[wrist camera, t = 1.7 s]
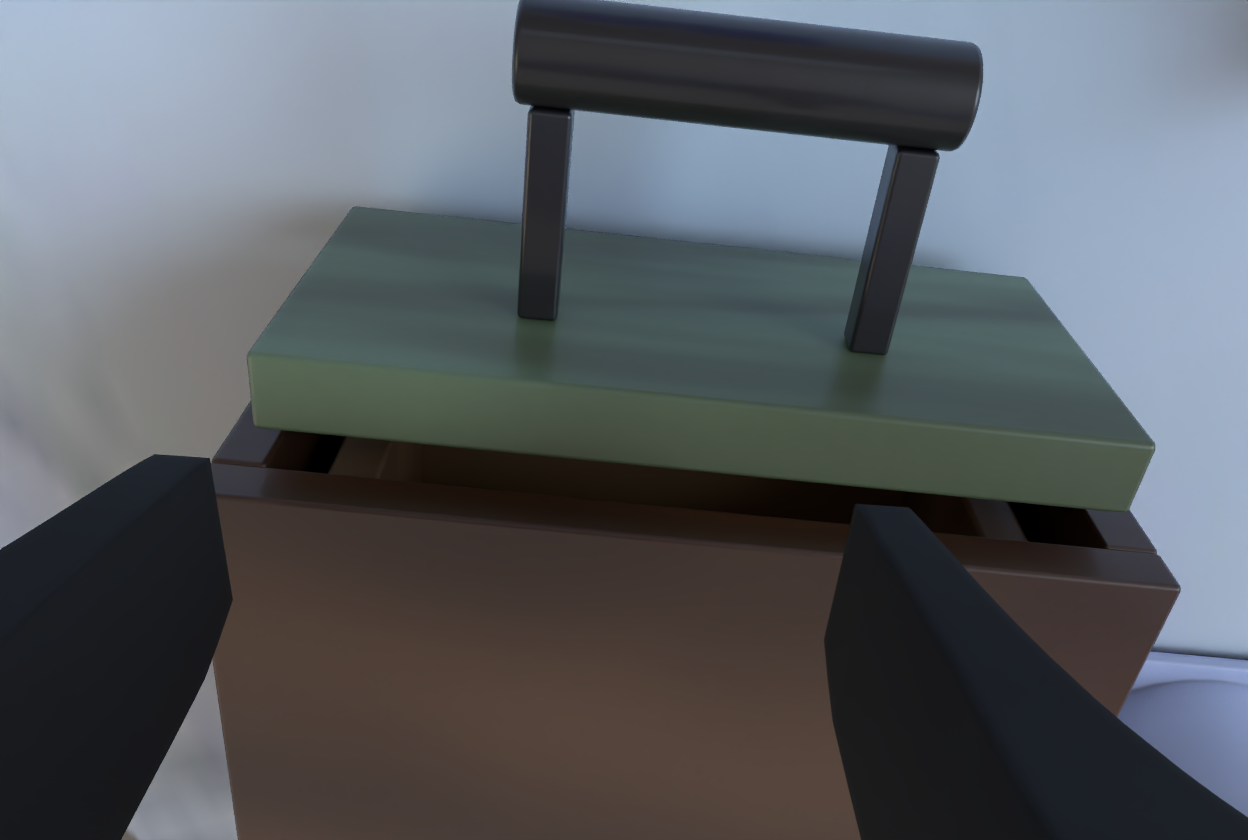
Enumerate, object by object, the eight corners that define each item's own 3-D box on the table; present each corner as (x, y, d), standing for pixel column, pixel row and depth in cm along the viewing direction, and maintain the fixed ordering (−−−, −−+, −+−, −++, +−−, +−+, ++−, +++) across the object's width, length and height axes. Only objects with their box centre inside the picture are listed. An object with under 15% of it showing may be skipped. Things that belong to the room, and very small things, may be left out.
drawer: (342, -70, 16) (207, -11, 11) (1112, 19, 17) (1308, 114, 12) (368, 697, 25) (300, 920, 20) (872, 742, 26) (926, 971, 21)
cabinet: (335, 268, 20) (186, 493, 14) (1016, 339, 21) (1185, 588, 14) (356, 745, 27) (265, 1043, 21) (864, 790, 28) (930, 1094, 21)
